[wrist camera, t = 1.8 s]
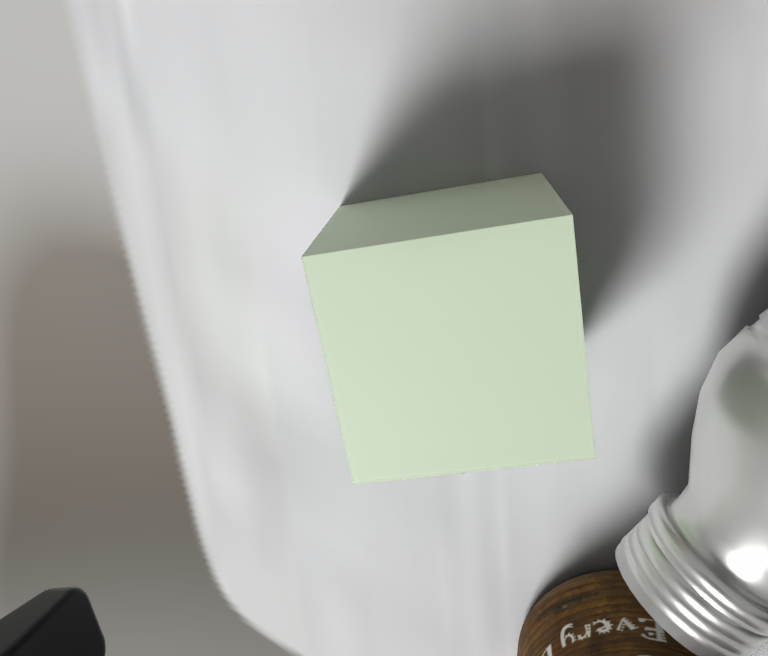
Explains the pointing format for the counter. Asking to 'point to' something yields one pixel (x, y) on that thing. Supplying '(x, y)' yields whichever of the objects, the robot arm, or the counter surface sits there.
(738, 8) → the counter surface
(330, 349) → the sage cube
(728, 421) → the plastic bottle
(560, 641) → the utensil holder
